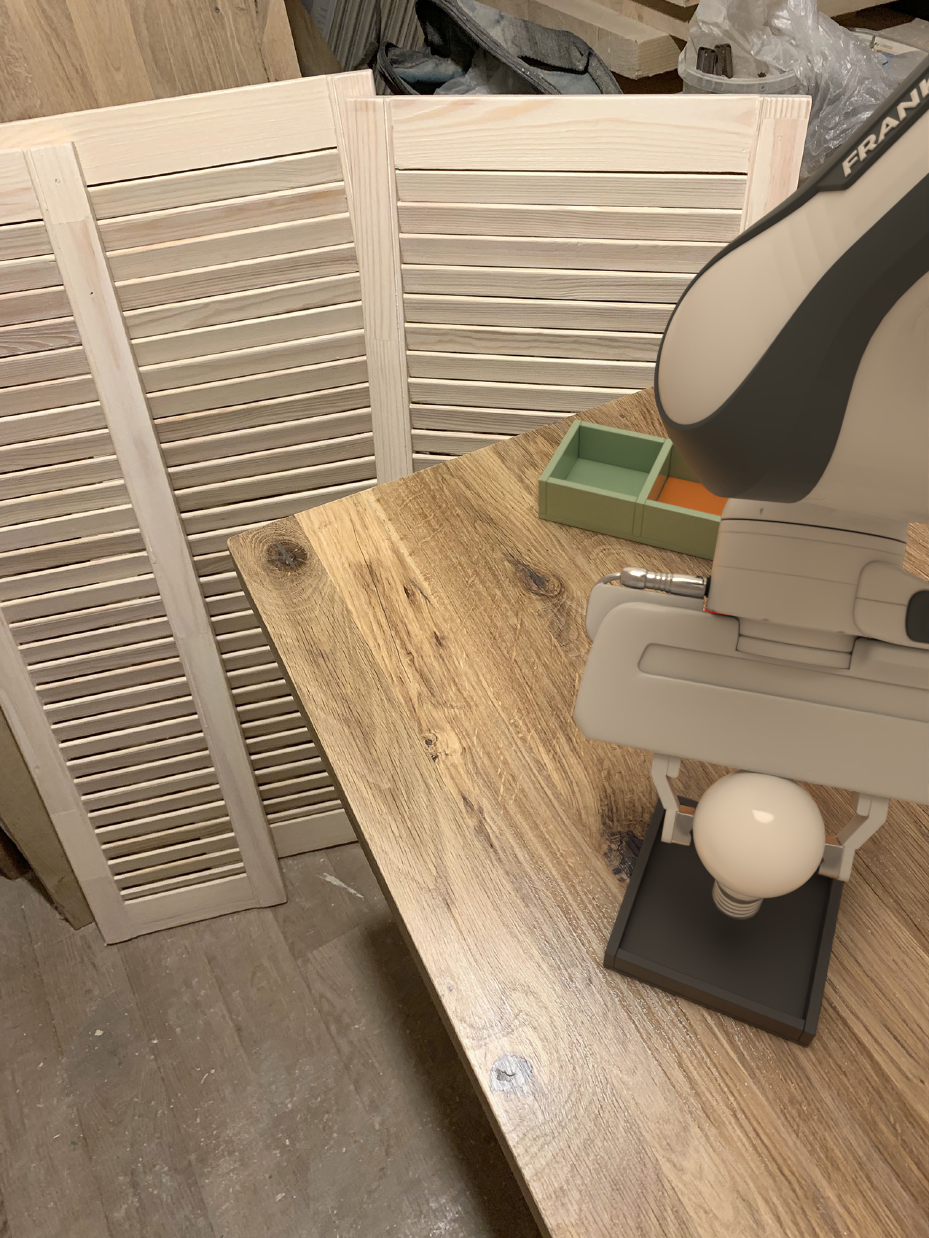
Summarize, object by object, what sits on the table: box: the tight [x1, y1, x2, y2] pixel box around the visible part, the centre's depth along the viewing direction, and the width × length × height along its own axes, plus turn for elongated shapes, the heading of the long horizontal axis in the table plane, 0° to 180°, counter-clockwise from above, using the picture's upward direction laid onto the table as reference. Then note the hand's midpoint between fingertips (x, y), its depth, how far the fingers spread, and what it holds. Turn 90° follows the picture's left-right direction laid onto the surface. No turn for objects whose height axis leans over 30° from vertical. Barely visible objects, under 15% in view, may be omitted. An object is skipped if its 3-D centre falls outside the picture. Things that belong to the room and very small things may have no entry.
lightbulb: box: [693, 769, 827, 920], centre depth 48 cm, size 6×6×11 cm
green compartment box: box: [538, 419, 729, 561], centre depth 75 cm, size 25×9×4 cm, turn 66°
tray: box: [602, 794, 845, 1048], centre depth 53 cm, size 11×11×2 cm
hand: (752, 858), depth 47 cm, fingers closed on lightbulb, 6 cm apart
